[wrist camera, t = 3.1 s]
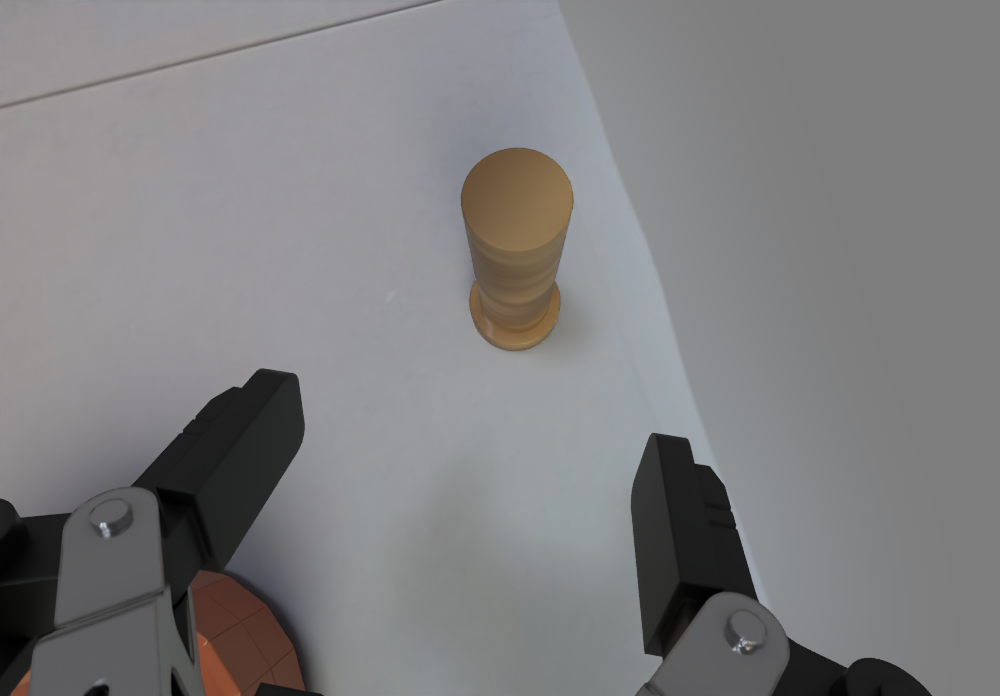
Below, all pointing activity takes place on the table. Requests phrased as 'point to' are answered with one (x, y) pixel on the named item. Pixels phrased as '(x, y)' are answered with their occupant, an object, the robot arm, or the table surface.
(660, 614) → the robot arm
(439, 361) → the table surface
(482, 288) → the wooden flanged peg
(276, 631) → the bowl
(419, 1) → the table surface
